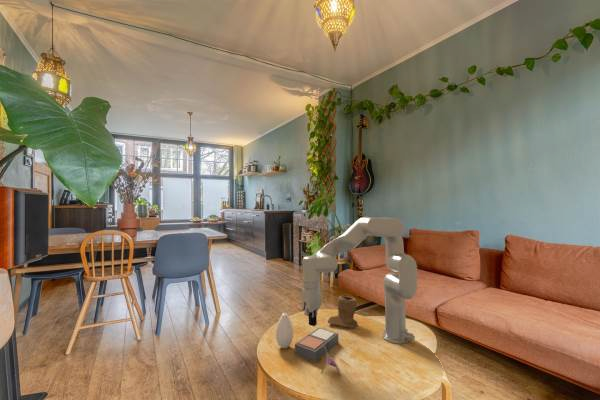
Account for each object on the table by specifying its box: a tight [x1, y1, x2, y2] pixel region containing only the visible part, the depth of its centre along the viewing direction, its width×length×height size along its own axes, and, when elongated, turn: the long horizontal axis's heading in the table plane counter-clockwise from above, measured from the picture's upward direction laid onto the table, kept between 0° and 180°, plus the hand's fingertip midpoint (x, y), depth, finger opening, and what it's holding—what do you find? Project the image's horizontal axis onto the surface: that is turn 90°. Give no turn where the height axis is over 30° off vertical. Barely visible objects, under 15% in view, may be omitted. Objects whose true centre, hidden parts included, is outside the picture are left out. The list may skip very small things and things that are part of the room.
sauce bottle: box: [275, 308, 294, 349], centre depth 128 cm, size 8×8×18 cm
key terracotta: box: [299, 336, 324, 350], centre depth 123 cm, size 8×8×2 cm
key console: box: [294, 327, 339, 364], centre depth 127 cm, size 11×20×4 cm, turn 144°
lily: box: [320, 344, 342, 375], centre depth 110 cm, size 12×12×10 cm
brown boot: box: [327, 295, 358, 328], centre depth 152 cm, size 15×12×15 cm
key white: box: [311, 328, 336, 341], centre depth 131 cm, size 8×8×2 cm
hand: (312, 324), depth 123 cm, fingers closed
